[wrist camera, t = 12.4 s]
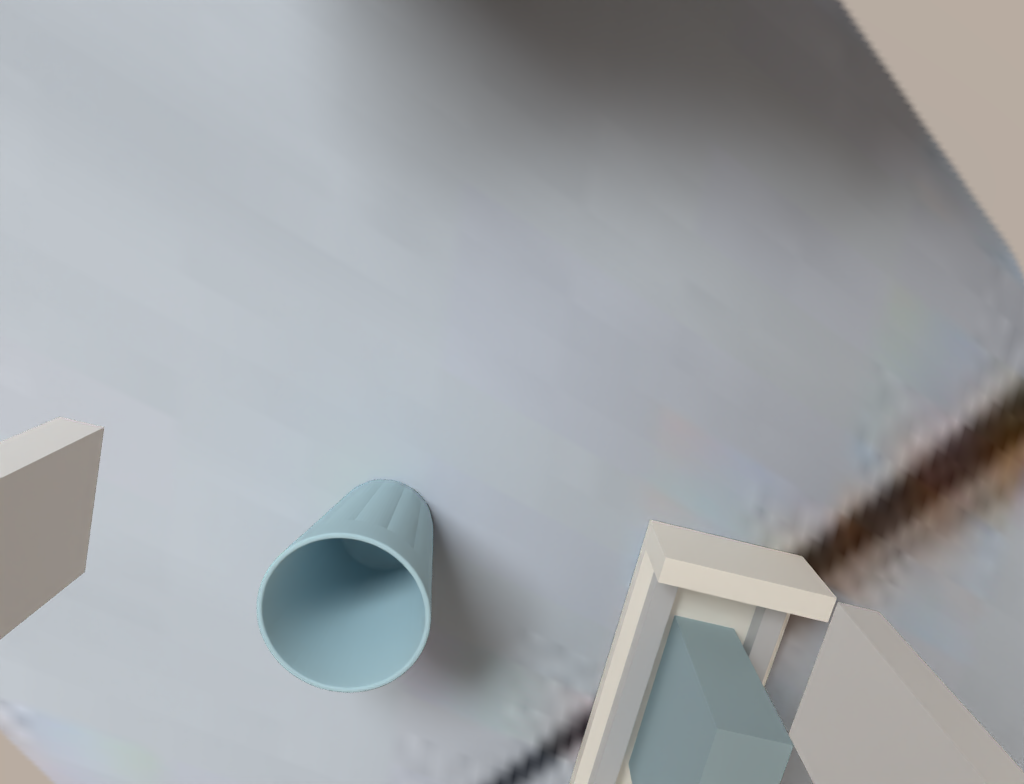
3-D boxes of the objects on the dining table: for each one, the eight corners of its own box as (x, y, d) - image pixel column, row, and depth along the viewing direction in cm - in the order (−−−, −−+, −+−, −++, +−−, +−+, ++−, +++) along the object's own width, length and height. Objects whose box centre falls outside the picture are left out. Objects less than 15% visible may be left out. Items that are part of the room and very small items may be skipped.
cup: (427, 442, 43) (396, 512, 33) (470, 564, 44) (454, 668, 34) (300, 480, 43) (231, 561, 33) (347, 599, 45) (294, 711, 35)
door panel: (674, 615, 44) (717, 728, 34) (733, 628, 44) (793, 745, 34) (628, 763, 46) (656, 910, 36) (685, 776, 46) (728, 926, 36)
